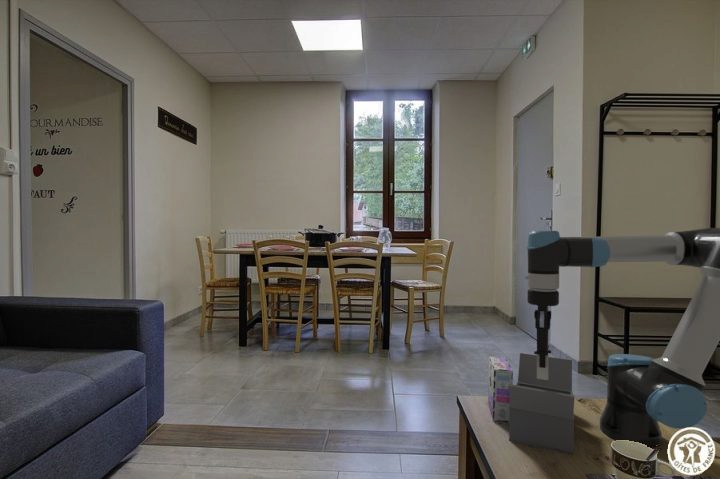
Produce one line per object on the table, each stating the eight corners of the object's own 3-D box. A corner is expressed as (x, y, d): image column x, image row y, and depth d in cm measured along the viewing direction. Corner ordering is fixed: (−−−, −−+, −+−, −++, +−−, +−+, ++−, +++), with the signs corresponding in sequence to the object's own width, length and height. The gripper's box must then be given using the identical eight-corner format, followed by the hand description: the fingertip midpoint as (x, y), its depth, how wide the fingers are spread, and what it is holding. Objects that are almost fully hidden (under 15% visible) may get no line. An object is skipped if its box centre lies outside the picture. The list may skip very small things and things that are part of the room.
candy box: (512, 423, 123) (513, 370, 122) (492, 421, 124) (493, 369, 124) (505, 404, 136) (506, 356, 136) (487, 402, 137) (488, 355, 137)
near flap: (574, 395, 100) (574, 397, 100) (573, 418, 105) (573, 420, 105) (508, 383, 107) (508, 385, 107) (510, 405, 112) (510, 407, 112)
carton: (571, 423, 123) (572, 391, 123) (573, 455, 105) (574, 418, 105) (516, 412, 131) (517, 381, 130) (509, 440, 113) (509, 405, 113)
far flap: (571, 391, 123) (571, 391, 124) (572, 360, 128) (572, 360, 128) (517, 382, 130) (517, 382, 131) (520, 353, 135) (520, 353, 135)
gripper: (529, 285, 112) (529, 368, 113) (525, 291, 101) (525, 384, 101) (559, 286, 109) (558, 372, 109) (558, 293, 97) (558, 389, 98)
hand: (542, 378), depth 105 cm, fingers closed
